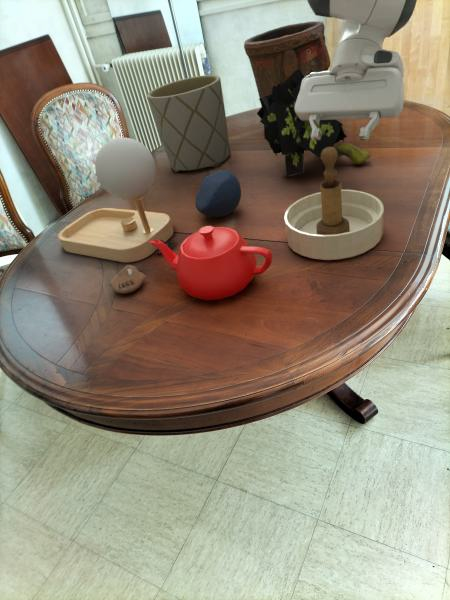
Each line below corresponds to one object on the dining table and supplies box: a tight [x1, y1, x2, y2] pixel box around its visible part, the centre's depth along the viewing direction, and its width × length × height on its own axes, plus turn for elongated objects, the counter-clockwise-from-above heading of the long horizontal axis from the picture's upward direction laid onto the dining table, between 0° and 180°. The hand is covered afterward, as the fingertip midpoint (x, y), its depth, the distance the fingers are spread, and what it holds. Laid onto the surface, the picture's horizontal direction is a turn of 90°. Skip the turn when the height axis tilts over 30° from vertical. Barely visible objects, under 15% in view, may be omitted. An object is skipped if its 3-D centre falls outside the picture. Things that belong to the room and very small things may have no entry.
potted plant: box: [256, 69, 371, 178], centre depth 110 cm, size 21×22×30 cm
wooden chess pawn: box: [316, 147, 350, 235], centre depth 81 cm, size 7×6×18 cm
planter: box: [146, 74, 231, 173], centre depth 133 cm, size 23×23×24 cm
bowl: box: [283, 189, 385, 261], centre depth 85 cm, size 19×19×6 cm
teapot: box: [149, 225, 273, 301], centre depth 79 cm, size 25×16×12 cm, turn 69°
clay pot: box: [243, 20, 331, 107], centre depth 136 cm, size 25×29×30 cm
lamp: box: [57, 137, 175, 263], centre depth 98 cm, size 33×17×25 cm, turn 59°
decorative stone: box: [195, 169, 242, 218], centre depth 103 cm, size 12×12×10 cm
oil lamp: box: [108, 264, 147, 294], centre depth 87 cm, size 9×4×8 cm
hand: (338, 139), depth 80 cm, fingers open, 8 cm apart
